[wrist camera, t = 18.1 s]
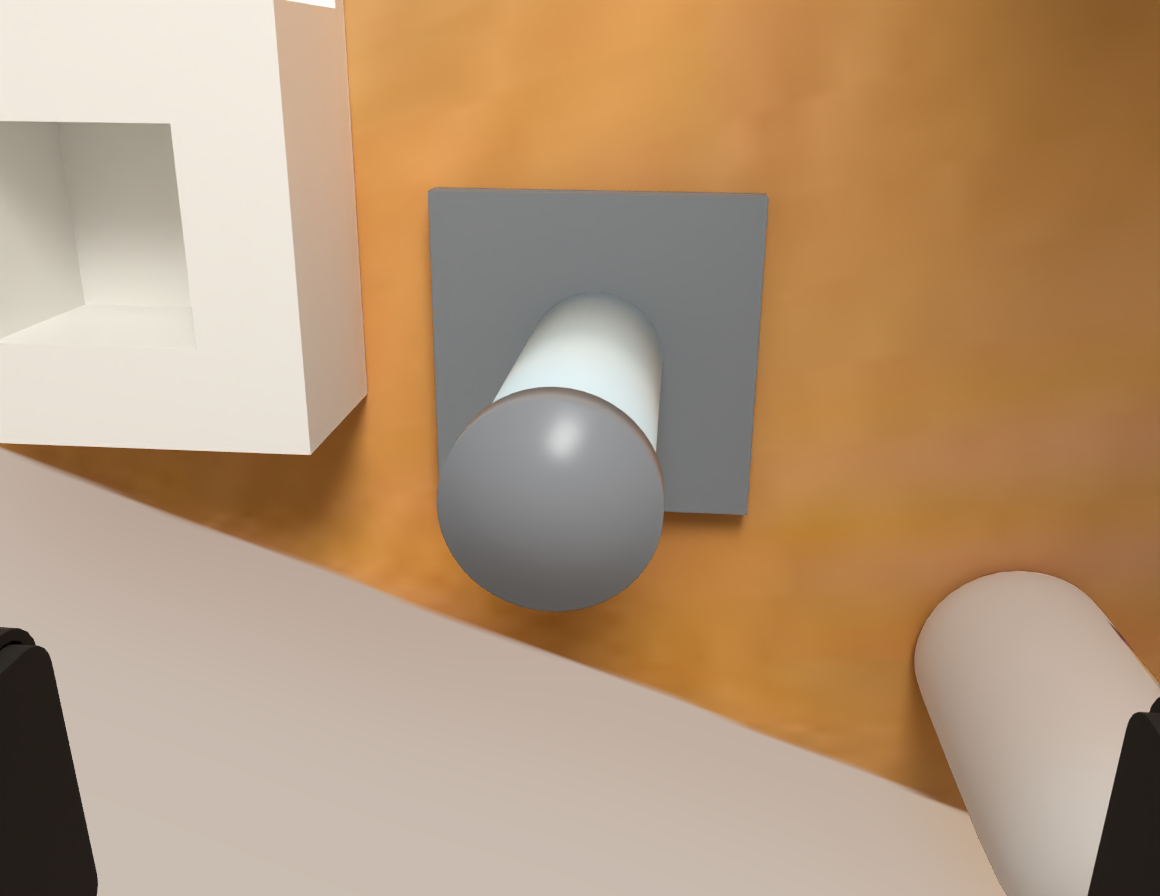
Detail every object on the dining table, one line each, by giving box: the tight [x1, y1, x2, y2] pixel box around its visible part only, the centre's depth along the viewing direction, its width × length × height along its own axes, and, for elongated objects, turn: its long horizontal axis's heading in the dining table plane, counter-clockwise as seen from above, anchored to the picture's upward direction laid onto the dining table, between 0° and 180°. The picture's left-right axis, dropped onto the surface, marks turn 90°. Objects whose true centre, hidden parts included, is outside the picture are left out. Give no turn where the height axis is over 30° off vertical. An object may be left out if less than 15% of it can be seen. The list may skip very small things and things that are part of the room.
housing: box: [0, 0, 368, 455], centre depth 36 cm, size 20×14×7 cm
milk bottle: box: [914, 571, 1160, 896], centre depth 34 cm, size 8×8×20 cm
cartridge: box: [437, 293, 665, 611], centre depth 33 cm, size 6×6×14 cm
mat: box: [428, 187, 768, 515], centre depth 40 cm, size 12×12×1 cm
